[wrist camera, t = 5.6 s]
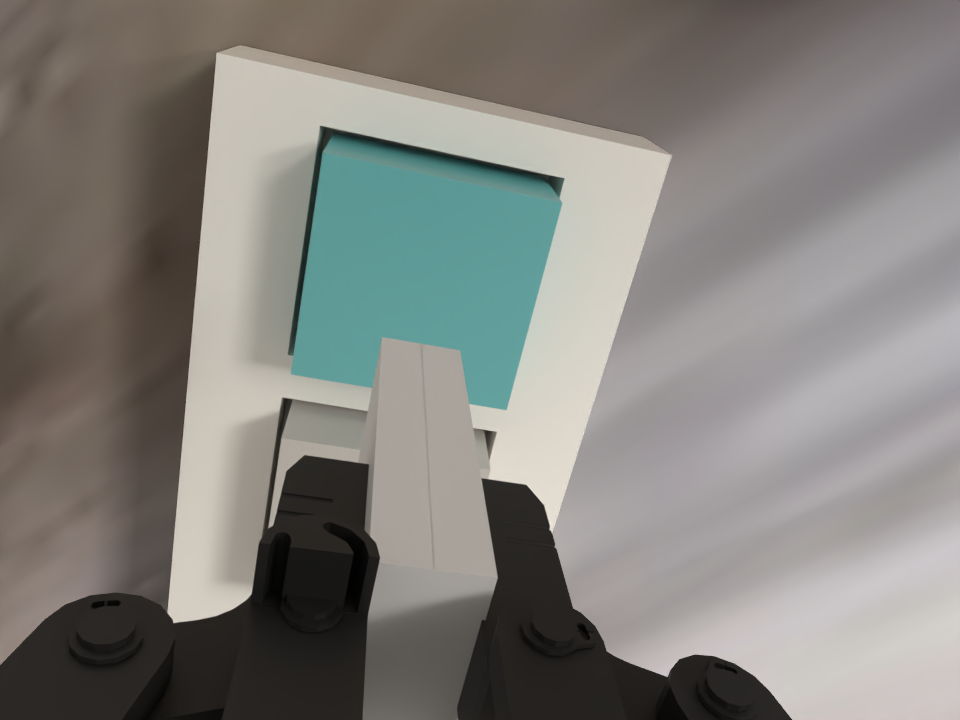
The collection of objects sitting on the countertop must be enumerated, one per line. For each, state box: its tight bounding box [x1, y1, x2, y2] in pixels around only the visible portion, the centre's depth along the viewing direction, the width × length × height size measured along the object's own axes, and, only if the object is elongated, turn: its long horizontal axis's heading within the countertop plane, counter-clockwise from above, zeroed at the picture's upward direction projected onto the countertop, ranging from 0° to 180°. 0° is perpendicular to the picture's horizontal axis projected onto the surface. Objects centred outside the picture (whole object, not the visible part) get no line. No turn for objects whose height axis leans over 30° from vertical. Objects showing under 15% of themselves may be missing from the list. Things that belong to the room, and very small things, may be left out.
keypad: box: [168, 45, 672, 720], centre depth 27 cm, size 12×25×3 cm, turn 167°
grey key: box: [269, 399, 490, 528], centre depth 25 cm, size 6×6×3 cm
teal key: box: [291, 132, 562, 410], centre depth 22 cm, size 6×6×3 cm
